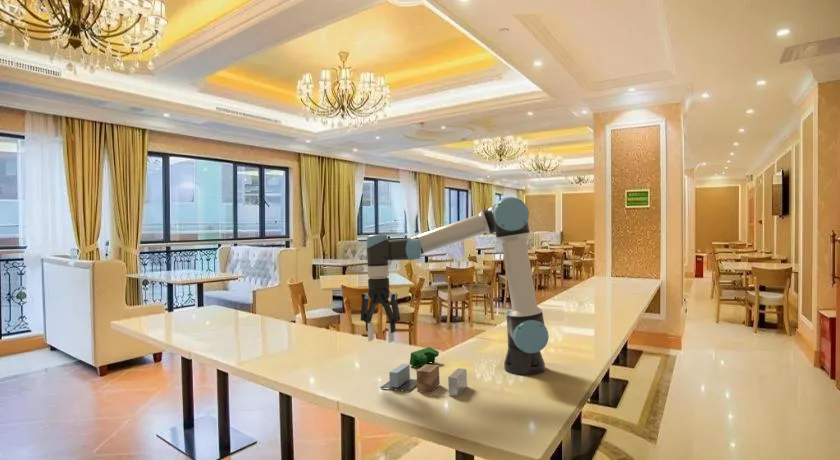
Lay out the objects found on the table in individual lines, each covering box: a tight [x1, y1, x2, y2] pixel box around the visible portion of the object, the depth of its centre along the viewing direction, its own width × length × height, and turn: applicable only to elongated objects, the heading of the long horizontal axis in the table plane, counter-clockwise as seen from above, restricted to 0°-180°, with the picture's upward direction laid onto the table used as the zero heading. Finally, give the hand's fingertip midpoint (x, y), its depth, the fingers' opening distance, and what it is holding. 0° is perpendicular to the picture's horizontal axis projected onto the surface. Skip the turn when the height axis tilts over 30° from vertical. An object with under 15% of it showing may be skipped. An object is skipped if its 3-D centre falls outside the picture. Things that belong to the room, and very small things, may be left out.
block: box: [416, 363, 441, 393], centre depth 155 cm, size 5×8×7 cm, turn 157°
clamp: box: [409, 346, 440, 368], centre depth 183 cm, size 12×6×9 cm, turn 132°
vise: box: [379, 367, 468, 397], centre depth 155 cm, size 28×11×6 cm, turn 67°
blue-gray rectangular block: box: [388, 363, 411, 388], centre depth 159 cm, size 3×10×5 cm, turn 157°
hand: (381, 340), depth 162 cm, fingers open, 8 cm apart
